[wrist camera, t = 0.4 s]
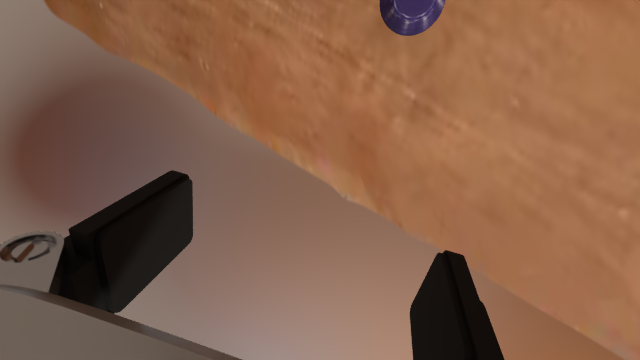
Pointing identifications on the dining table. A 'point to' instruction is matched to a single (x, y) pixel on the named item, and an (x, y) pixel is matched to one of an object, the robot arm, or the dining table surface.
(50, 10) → the dining table surface
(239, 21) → the dining table surface
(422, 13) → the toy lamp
